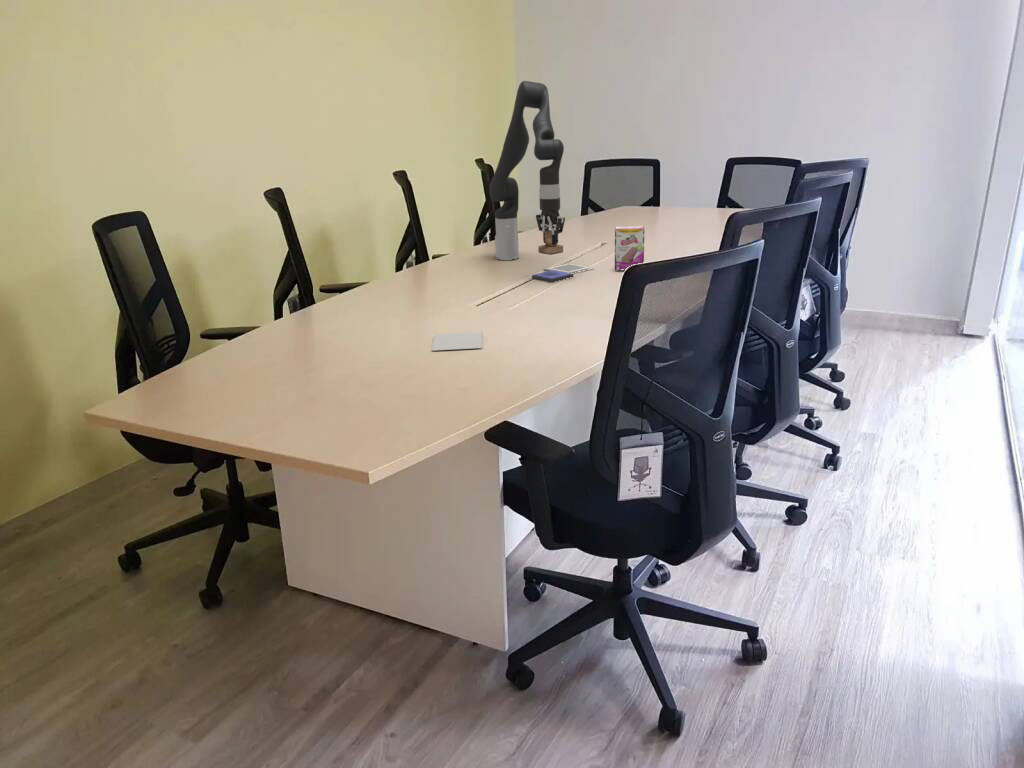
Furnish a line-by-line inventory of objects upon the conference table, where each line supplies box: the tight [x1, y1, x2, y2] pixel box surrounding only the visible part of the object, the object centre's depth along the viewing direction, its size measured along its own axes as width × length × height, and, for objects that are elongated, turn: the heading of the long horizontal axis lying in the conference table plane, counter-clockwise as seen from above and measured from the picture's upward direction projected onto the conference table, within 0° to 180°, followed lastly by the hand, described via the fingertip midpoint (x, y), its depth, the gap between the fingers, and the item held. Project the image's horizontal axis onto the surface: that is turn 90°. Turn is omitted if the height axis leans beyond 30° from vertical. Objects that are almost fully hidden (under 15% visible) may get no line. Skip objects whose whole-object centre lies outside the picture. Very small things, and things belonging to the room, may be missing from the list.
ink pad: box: [531, 270, 574, 283], centre depth 312 cm, size 11×11×2 cm
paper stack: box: [431, 331, 483, 352], centre depth 235 cm, size 23×25×1 cm
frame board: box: [542, 262, 591, 273], centre depth 325 cm, size 14×14×1 cm
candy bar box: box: [614, 225, 645, 272], centre depth 317 cm, size 11×5×16 cm, turn 84°
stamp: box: [537, 229, 564, 256], centre depth 308 cm, size 6×6×8 cm
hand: (550, 243), depth 308 cm, fingers closed on stamp, 4 cm apart
